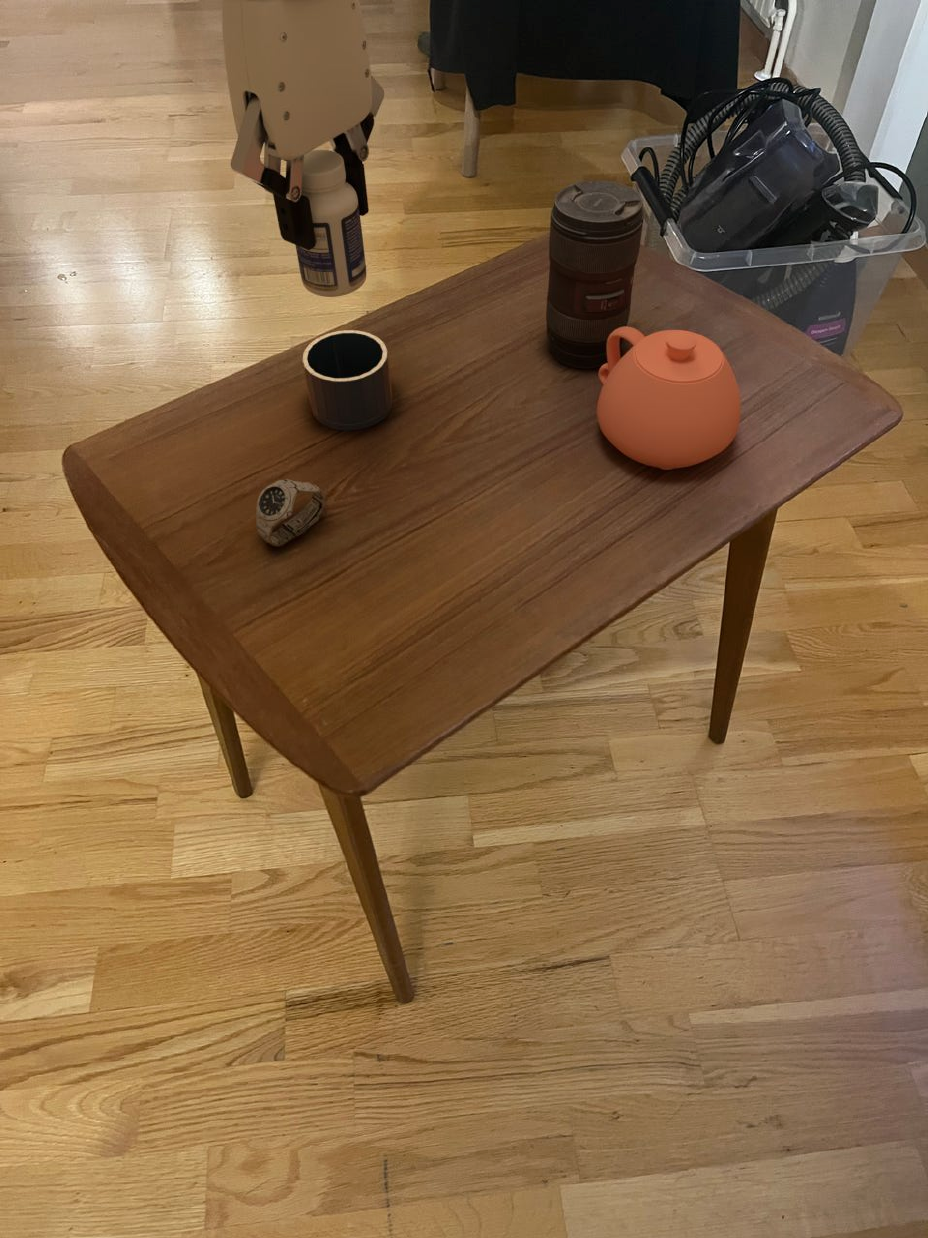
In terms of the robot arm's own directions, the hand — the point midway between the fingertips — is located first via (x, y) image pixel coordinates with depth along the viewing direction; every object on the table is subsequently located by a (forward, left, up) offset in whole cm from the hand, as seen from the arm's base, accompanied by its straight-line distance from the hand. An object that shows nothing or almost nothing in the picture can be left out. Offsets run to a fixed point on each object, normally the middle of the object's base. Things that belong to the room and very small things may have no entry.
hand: (325, 224), depth 72 cm
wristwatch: (+7, -15, -18) cm, 24 cm away
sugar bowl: (+25, +13, -18) cm, 33 cm away
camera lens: (+13, +20, -18) cm, 30 cm away
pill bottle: (0, 0, -5) cm, 5 cm away
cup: (0, 0, -18) cm, 18 cm away
